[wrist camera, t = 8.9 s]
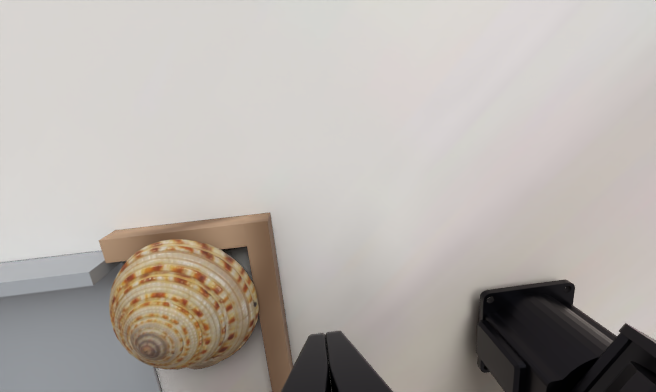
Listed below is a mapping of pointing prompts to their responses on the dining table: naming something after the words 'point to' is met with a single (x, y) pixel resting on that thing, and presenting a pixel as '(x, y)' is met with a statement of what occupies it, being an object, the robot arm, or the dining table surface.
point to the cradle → (224, 236)
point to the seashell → (182, 305)
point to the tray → (64, 328)
